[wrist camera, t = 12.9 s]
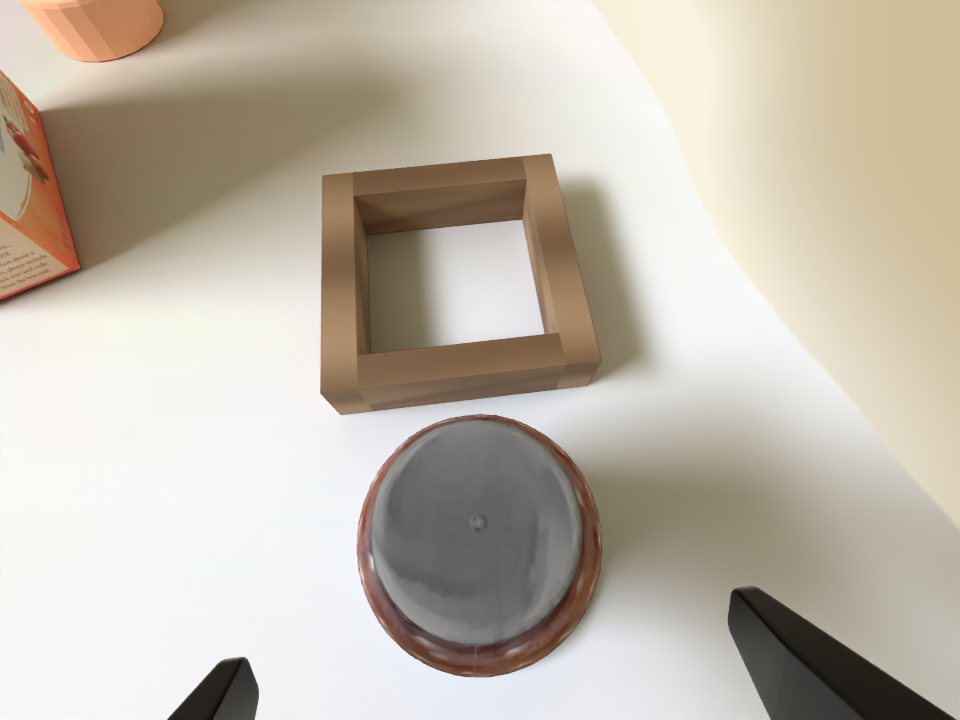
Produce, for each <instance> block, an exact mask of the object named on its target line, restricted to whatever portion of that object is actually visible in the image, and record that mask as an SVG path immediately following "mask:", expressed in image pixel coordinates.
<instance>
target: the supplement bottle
mask: <svg viewBox="0 0 960 720" xmlns="http://www.w3.org/2000/svg"><path fill="white" fill-rule="evenodd" d="M357 555H358V570H359V574H360V577H361V583H362V586H363V589H364V592H365V595H366V597H367V600H368V602H369V604H370V606H371V608H372V610H373V612H374V614H375V616H376V618H377V619H378V621H379V623H380V624H381V626H382V627H383V629H384V630H385V631H386V633H387V634H388V635H389V636H390V637H391V638H392V639H393V640H394V641H395V642H396V643H397V644H398V645H399V646H400V647H401V648H402V649H403V650H404V651H406V652H407V653H408V654H409V655H411V656H413V657H414V658H415V659H417V660H420V661H421V662H422V663H424V664H426V665H428V666H430V667H433V668H435V669H437V670H440V671H443V672H446V673H450V674H453V675H457V676H463V677H493V676H499V675H504V674H509V673H512V672H515V671H518V670H520V669H523V668H525V667H528V666H530V665H532V664H534V663H536V662H537V661H539V660H540V659H542V658H544V657H545V656H547V655H548V654H549V653H551V652H552V651H553V650H554V649H555V648H557V647H558V646H559V645H560V644H561V643H562V642H563V641H564V640H565V639H566V638H567V637H568V636H569V635H570V634H571V633H572V631H573V630H574V629H575V627H576V626H577V624H578V623H579V621H580V620H581V618H582V616H583V615H584V613H585V611H586V609H587V607H588V605H589V603H590V601H591V599H592V597H593V594H594V591H595V587H596V584H597V581H598V577H599V573H600V567H601V555H602V534H601V525H600V520H599V515H598V511H597V508H596V505H595V502H594V498H593V495H592V493H591V491H590V489H589V487H588V485H587V483H586V481H585V479H584V477H583V475H582V474H581V472H580V471H579V469H578V468H577V466H576V465H575V464H574V463H573V461H572V460H571V458H570V457H569V456H568V455H567V454H566V453H565V452H564V451H563V450H562V448H561V447H560V446H558V445H557V444H556V443H555V442H553V441H552V440H551V439H550V438H548V437H547V436H545V435H544V434H542V433H540V432H539V431H537V430H536V429H534V428H531V427H530V426H528V425H526V424H523V423H521V422H519V421H516V420H514V419H508V418H505V417H501V416H497V415H483V414H477V415H468V416H462V417H455V418H449V419H446V420H443V421H441V422H437V423H435V424H432V425H430V426H428V427H426V428H424V429H422V430H420V431H419V432H417V433H416V434H415V435H413V436H411V437H409V438H408V440H406V441H405V442H404V443H403V444H402V445H400V446H399V447H398V448H397V449H396V450H395V452H394V453H393V454H392V455H391V456H390V457H389V458H388V459H387V461H386V462H385V463H384V464H383V466H382V467H381V469H380V470H379V471H378V473H377V475H376V477H375V479H374V480H373V482H372V484H371V486H370V488H369V491H368V494H367V496H366V498H365V501H364V504H363V508H362V511H361V515H360V520H359V523H358V534H357Z"/></svg>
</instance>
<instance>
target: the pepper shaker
mask: <svg viewBox="0 0 960 720" xmlns="http://www.w3.org/2000/svg"><path fill="white" fill-rule="evenodd" d="M19 2H20V3H21V4H22V5H23V7H24V8H25V9H26V10H27V11H28V13H29V14H30V15H31V16H32V18H33V19H34V20H35V21H36V22H37V24H38V25H39V26H40V27H41V29H42V30H43V31H44V32H45V33H46V35H47V36H48V37H49V38H50V40H51V41H52V42H53V43H54V44H55V46H56V47H57V48H58V49H59V50H60V51H61V52H62V53H64V54H65V55H66V56H68V57H70V58H73V59H77V60H80V61H92V62H101V61H106V60H112V59H118V58H120V57H123V56H126V55H128V54H131V53H134V52H136V51H137V50H139V49H140V48H142V47H144V46H145V45H147V44H149V43H150V42H151V40H152V39H153V38H154V37H155V36H156V35H157V34H158V33H159V31H160V29H161V27H162V25H163V23H164V13H163V11H162V9H161V8H160V6H159V4H158V2H157V1H156V0H19Z"/></svg>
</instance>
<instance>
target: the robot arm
mask: <svg viewBox="0 0 960 720" xmlns="http://www.w3.org/2000/svg"><path fill="white" fill-rule="evenodd" d="M728 626H729V630H730V633H731V635H732V637H733V640H734V642H735V644H736V646H737V648H738V650H739V653H740V655H741V657H742V659H743V661H744V663H745V666H746V668H747V670H748V672H749V674H750V676H751V678H752V681H753V683H754V685H755V687H756V689H757V691H758V694H759V696H760V698H761V700H762V702H763V704H764V707H765V709H766V711H767V713H768V715H769V717H770V719H771V720H956V719H955V718H953V717H952V716H950V715H949V714H947V713H946V712H944V711H943V710H941V709H940V708H938V707H937V706H935V705H934V704H932V703H931V702H929V701H928V700H926V699H925V698H923V697H922V696H920V695H919V694H917V693H916V692H914V691H913V690H911V689H910V688H908V687H907V686H905V685H904V684H902V683H901V682H899V681H898V680H896V679H895V678H893V677H892V676H890V675H889V674H887V673H886V672H884V671H883V670H881V669H880V668H878V667H877V666H875V665H874V664H872V663H871V662H869V661H868V660H866V659H865V658H863V657H862V656H860V655H859V654H857V653H856V652H854V651H853V650H851V649H850V648H848V647H847V646H845V645H844V644H842V643H841V642H839V641H838V640H836V639H835V638H833V637H832V636H830V635H829V634H827V633H826V632H824V631H823V630H821V629H820V628H818V627H817V626H815V625H814V624H812V623H811V622H809V621H808V620H806V619H804V618H803V617H801V616H800V615H798V614H797V613H795V612H794V611H792V610H791V609H789V608H788V607H786V606H785V605H783V604H782V603H780V602H779V601H777V600H776V599H774V598H773V597H771V596H770V595H768V594H767V593H765V592H764V591H762V590H761V589H759V588H757V587H754V586H748V587H741V588H735V589H734V590H733V591H732V593H731V598H730V606H729V613H728ZM258 700H259V689H258V685H257V682H256V679H255V677H254V674H253V671H252V669H251V666H250V663H249V661H248V659H246V658H245V657H237V658H230V659H225V660H222V661H221V662H219V663H218V664H217V665H216V666H215V667H214V668H213V669H212V671H211V672H210V673H209V674H208V675H207V676H206V677H205V678H204V679H203V680H202V682H201V683H200V684H199V685H198V686H197V687H196V688H195V689H194V690H193V691H192V693H191V694H190V695H189V696H188V697H187V698H186V699H185V700H184V701H183V703H182V704H181V705H180V706H179V707H178V708H177V709H176V710H175V711H174V712H173V714H172V715H171V716H170V717H169V718H168V719H167V720H255V715H256V710H257V705H258Z"/></svg>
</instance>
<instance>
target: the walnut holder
mask: <svg viewBox="0 0 960 720" xmlns="http://www.w3.org/2000/svg"><path fill="white" fill-rule="evenodd" d="M518 219H522V220H523V225H524V230H525V235H526V240H527V246H528V251H529V256H530V261H531V266H532V271H533V276H534V281H535V286H536V291H537V296H538V301H539V307H540V312H541V317H542V322H543V327H544V332H545V334H543V335H534V336H525V337H516V338H508V339H499V340H490V341H481V342H472V343H463V344H454V345H446V346H437V347H428V348H419V349H410V350H401V351H392V352H384V353H375V354H371V340H370V313H369V285H368V257H367V235H370V234H380V233H390V232H400V231H410V230H419V229H429V228H439V227H449V226H459V225H468V224H478V223H488V222H498V221H508V220H518ZM600 363H601V356H600V352H599V348H598V344H597V340H596V336H595V332H594V328H593V324H592V319H591V315H590V311H589V307H588V303H587V299H586V295H585V291H584V286H583V282H582V278H581V274H580V270H579V266H578V262H577V258H576V254H575V249H574V245H573V241H572V237H571V233H570V229H569V225H568V221H567V216H566V212H565V208H564V204H563V200H562V196H561V192H560V188H559V184H558V179H557V175H556V171H555V167H554V163H553V159H552V155H551V154H542V155H532V156H521V157H511V158H500V159H490V160H479V161H469V162H459V163H448V164H438V165H427V166H417V167H406V168H396V169H386V170H375V171H365V172H354V173H344V174H333V175H323V176H322V280H321V388H320V393H321V394H322V396H323V397H324V398H325V399H326V400H327V401H328V402H329V403H330V404H331V405H332V406H333V407H334V408H335V409H336V411H337V412H338V413H339V414H340V415H344V414H352V413H361V412H369V411H377V410H386V409H394V408H403V407H411V406H420V405H428V404H437V403H445V402H454V401H462V400H471V399H479V398H488V397H496V396H504V395H513V394H521V393H530V392H538V391H547V390H555V389H564V388H572V387H581V386H587V385H588V383H589V382H590V380H591V378H592V376H593V375H594V373H595V371H596V369H597V368H598V366H599V364H600Z"/></svg>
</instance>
